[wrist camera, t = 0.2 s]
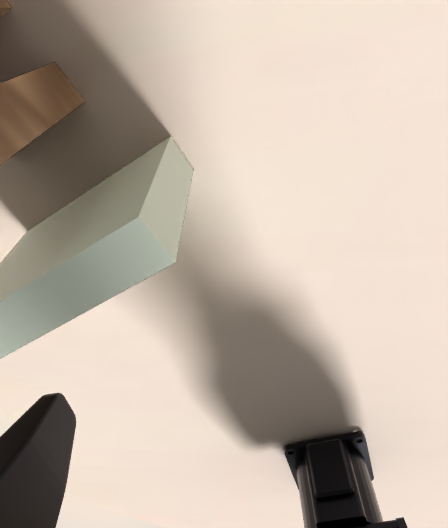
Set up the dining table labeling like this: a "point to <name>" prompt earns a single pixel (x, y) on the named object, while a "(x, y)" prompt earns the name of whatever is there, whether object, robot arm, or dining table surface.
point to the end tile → (95, 246)
